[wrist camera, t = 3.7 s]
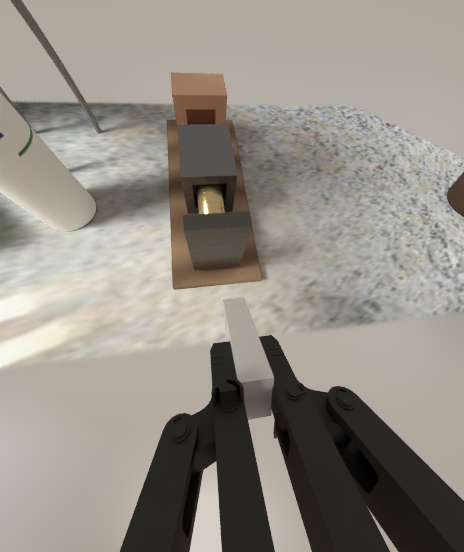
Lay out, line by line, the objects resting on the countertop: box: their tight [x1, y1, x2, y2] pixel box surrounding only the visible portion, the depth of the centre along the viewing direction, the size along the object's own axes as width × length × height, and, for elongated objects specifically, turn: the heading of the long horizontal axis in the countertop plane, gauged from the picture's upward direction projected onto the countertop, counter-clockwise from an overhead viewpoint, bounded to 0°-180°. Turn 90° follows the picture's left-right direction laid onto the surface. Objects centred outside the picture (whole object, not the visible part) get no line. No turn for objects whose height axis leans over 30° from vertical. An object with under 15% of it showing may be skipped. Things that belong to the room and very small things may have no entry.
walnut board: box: [167, 120, 262, 290], centre depth 32 cm, size 32×12×1 cm, turn 8°
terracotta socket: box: [171, 73, 227, 125], centre depth 32 cm, size 5×8×8 cm, turn 98°
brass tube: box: [183, 184, 252, 271], centre depth 25 cm, size 20×6×10 cm, turn 8°
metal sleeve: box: [177, 124, 237, 214], centre depth 29 cm, size 9×7×7 cm
